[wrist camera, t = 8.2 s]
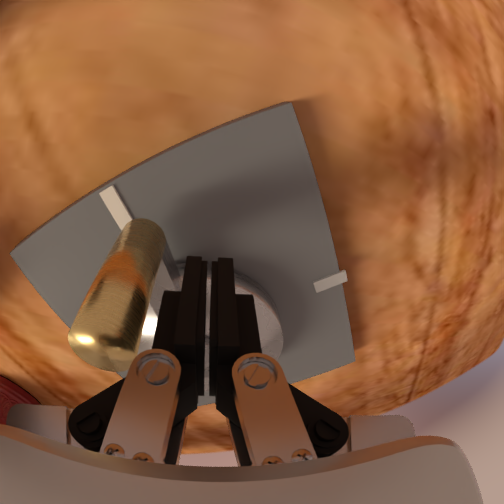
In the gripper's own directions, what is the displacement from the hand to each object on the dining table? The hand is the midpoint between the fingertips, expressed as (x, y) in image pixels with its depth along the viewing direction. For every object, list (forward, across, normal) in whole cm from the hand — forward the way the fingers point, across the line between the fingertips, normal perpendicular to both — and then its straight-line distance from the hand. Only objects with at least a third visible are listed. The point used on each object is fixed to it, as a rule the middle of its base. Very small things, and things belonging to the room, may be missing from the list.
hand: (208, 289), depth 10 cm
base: (+8, +1, +9) cm, 12 cm away
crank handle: (+6, +1, +7) cm, 9 cm away
